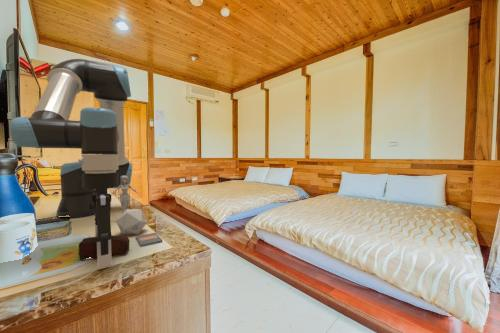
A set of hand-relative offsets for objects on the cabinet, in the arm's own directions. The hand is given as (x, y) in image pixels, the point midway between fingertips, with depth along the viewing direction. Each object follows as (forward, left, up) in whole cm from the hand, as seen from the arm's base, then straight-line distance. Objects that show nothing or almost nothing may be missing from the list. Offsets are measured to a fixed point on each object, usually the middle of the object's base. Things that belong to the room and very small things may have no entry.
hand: (103, 257), depth 56 cm
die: (-16, +9, 0) cm, 18 cm away
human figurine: (-33, +9, 0) cm, 34 cm away
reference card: (-6, +12, 0) cm, 13 cm away
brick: (-2, +1, -1) cm, 2 cm away
